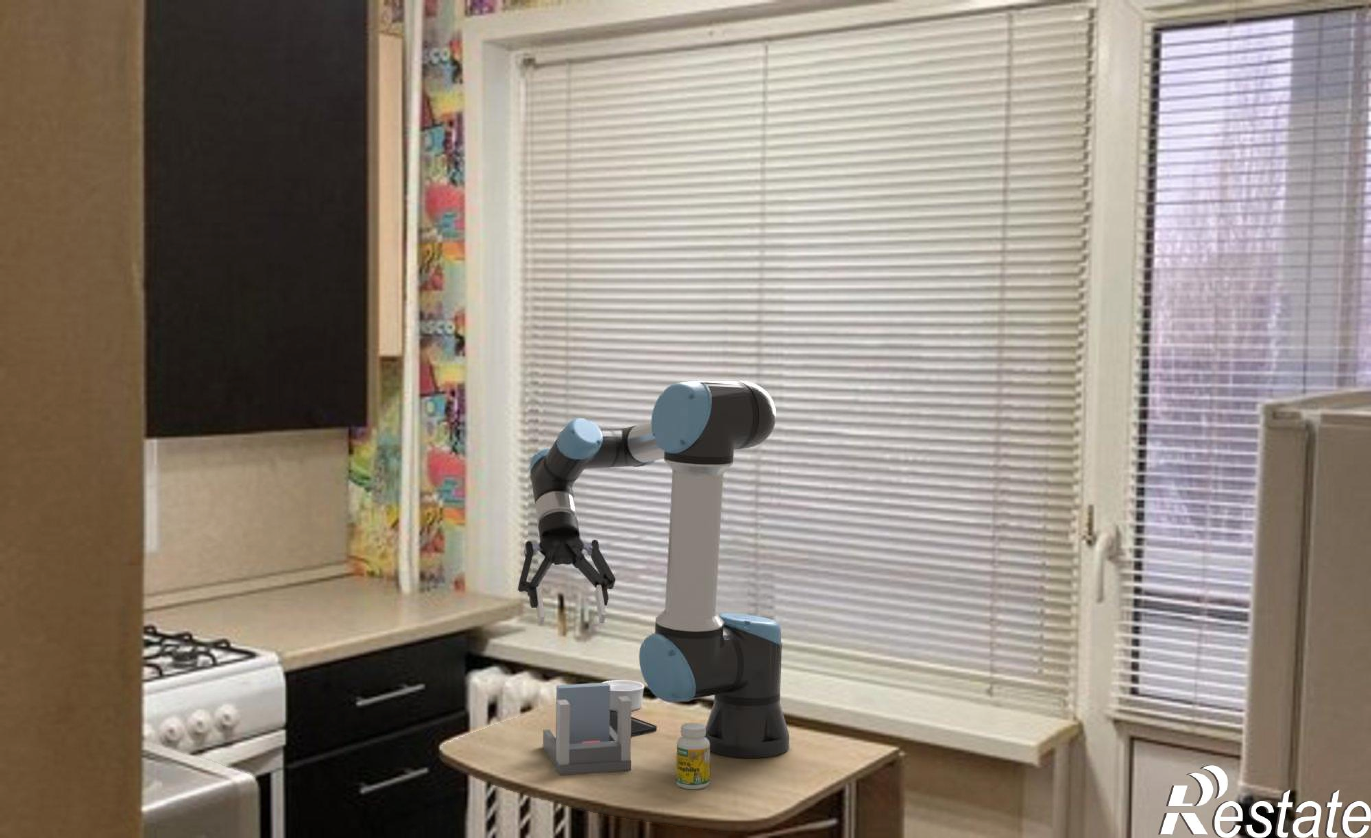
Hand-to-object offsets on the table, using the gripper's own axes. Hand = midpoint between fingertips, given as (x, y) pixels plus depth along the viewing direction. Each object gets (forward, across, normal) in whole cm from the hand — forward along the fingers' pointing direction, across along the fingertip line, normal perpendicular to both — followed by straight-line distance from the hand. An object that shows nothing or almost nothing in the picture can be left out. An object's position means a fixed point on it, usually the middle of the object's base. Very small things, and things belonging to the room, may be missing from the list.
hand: (572, 620), depth 245 cm
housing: (+24, 0, -6) cm, 25 cm away
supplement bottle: (+37, -14, +7) cm, 40 cm away
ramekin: (+2, -14, -28) cm, 31 cm away
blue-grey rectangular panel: (+21, 0, -7) cm, 22 cm away
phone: (+11, -10, -19) cm, 25 cm away
